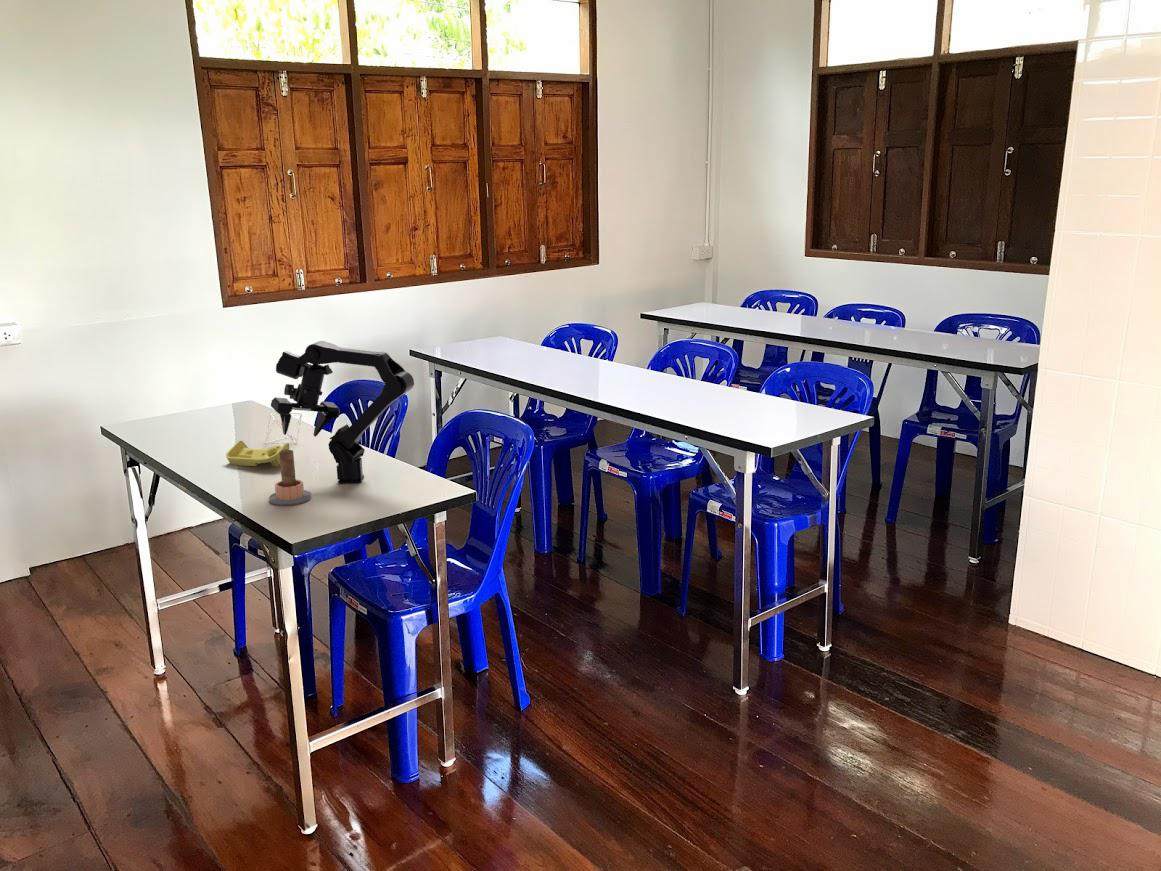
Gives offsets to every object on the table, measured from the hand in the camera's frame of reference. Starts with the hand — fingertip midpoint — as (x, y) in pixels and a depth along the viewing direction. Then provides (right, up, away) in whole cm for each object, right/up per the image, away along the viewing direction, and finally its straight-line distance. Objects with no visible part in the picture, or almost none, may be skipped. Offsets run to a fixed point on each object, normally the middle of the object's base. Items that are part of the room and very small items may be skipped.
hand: (299, 435), depth 279 cm
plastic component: (-17, -9, +18) cm, 27 cm away
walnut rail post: (+2, -17, -15) cm, 22 cm away
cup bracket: (+2, -18, -15) cm, 23 cm away
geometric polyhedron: (-18, -2, +44) cm, 47 cm away
